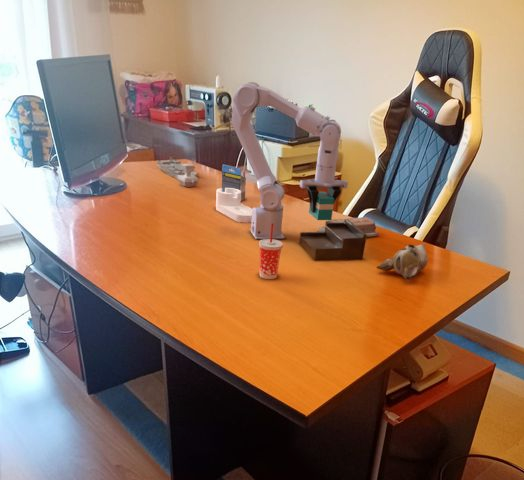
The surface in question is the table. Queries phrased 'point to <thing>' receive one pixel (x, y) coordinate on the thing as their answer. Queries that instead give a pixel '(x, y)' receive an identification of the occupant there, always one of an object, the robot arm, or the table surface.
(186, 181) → the stamp
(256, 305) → the table surface
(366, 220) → the packaged product
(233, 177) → the label tape box
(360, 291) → the table surface
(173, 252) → the table surface
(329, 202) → the block
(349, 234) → the step shelf
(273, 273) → the beverage cup
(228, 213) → the bracket
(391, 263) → the ceramic sculpture
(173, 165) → the architectural model
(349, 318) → the table surface
